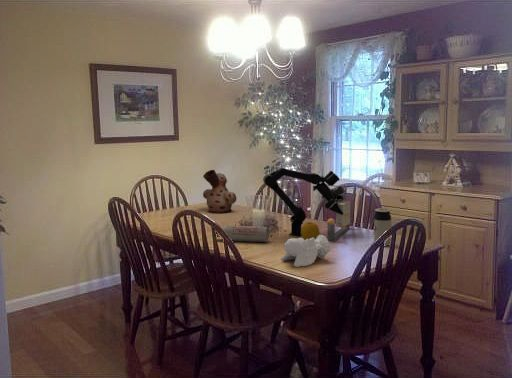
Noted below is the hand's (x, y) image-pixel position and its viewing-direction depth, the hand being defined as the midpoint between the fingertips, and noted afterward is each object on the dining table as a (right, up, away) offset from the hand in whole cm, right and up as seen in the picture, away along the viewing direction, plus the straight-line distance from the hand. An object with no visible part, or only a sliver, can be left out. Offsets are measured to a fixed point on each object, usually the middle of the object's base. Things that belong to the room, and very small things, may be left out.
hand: (345, 212), depth 264 cm
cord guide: (-3, -12, +3) cm, 13 cm away
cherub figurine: (-26, -20, -45) cm, 56 cm away
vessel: (-75, -3, +76) cm, 107 cm away
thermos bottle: (-42, -11, -10) cm, 45 cm away
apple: (-21, -15, -15) cm, 30 cm away
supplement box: (-1, -7, +2) cm, 8 cm away
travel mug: (+15, -15, -20) cm, 29 cm away
